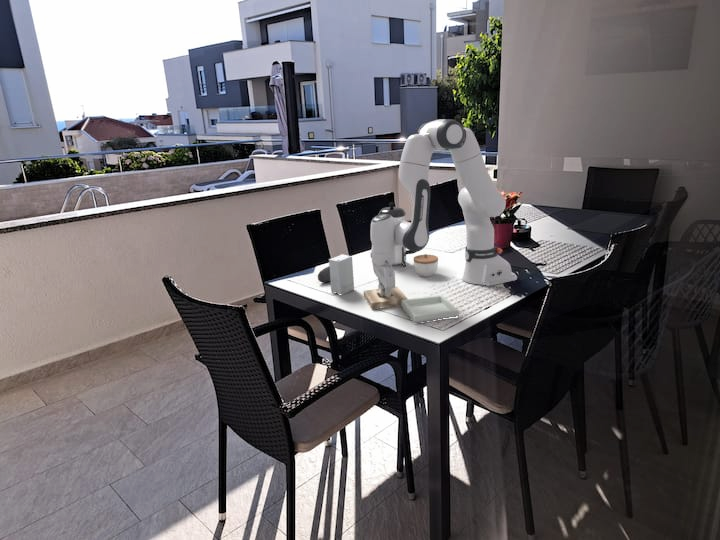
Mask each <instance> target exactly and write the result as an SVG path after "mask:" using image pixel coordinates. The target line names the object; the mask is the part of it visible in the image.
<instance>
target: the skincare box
mask: <svg viewBox="0 0 720 540" xmlns="http://www.w3.org/2000/svg"><path fill="white" fill-rule="evenodd" d="M328 266H329V267H330V279H331V281H330V288H331V289H330V290H331V293H333V292H336V293H339V294H343V293H345V294H346V292H347V293H349V292H351V291H353V290H355V282H354V266H353V256H351V255H348V254H347V255H346V254H343V253H341V254H339V255H338V256H335V257H332V258H328ZM348 291H349V292H348ZM336 293H335V294H336ZM339 294H338V295H339ZM343 295H344V294H343Z"/></svg>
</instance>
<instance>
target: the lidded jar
mask: <svg viewBox="0 0 720 540" xmlns="http://www.w3.org/2000/svg"><path fill="white" fill-rule="evenodd" d="M438 262H439V257H438V256H436V255H434V254H427V253H425V254H418V255H416V256H414V257H413V266H414V270H415V272H416V273H417V274H418V275H419V276H420V277H423V278H427V277H432V276H434V274H435V273H436V272H437V269H438V266H439V264H438Z"/></svg>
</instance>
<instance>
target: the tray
mask: <svg viewBox="0 0 720 540" xmlns="http://www.w3.org/2000/svg"><path fill="white" fill-rule="evenodd" d="M402 308H403V309H404V310H403V309H402ZM401 309H402V310H403V311H404V313H405V312H406V313H407V314H408V315H407V314H406V313H405V314H406V315H407V317H408V318H409V317H410V318H411V319H412V320H411V319H410V318H409V319H410V320H411V322H412V321H413V322H414V323H421V322H427V321H433V320H438V319H443V318H449V317H456V316H458V317H459V314H460V313H459V309H458V308H457V307H456V306H455V305H454V304H452V303H451V302H450V300H449V299H447V297H445V296H444V295H443V294H437V295H431V296H429V295H428V296H422V297H415V298H414V297H413V298H408V299H406V300H401ZM413 322H412V323H413ZM414 323H413V324H414ZM421 324H422V323H421Z"/></svg>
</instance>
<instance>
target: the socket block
mask: <svg viewBox="0 0 720 540" xmlns="http://www.w3.org/2000/svg"><path fill="white" fill-rule="evenodd" d="M364 297H365V298H364ZM363 298H364V299H365V301H366V300H367V301H366V303H367V304H368V303H369V304H368V305H370V306H369V307H370V309H371V308H372V309H371V310H374V309H373V308H378V309H381V308H380V307H386V308H389V307H388V306H393V307H397V306H396V305H401V300H406V299H409V298H408V297H407V296H406V295H405V294H404V292H403V291H402V290H401V289H400V288H399V287H398V286H395V288H392V289H391V296H390V297H383V298H379V289H378V288H374V289H367V290H363Z"/></svg>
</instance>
